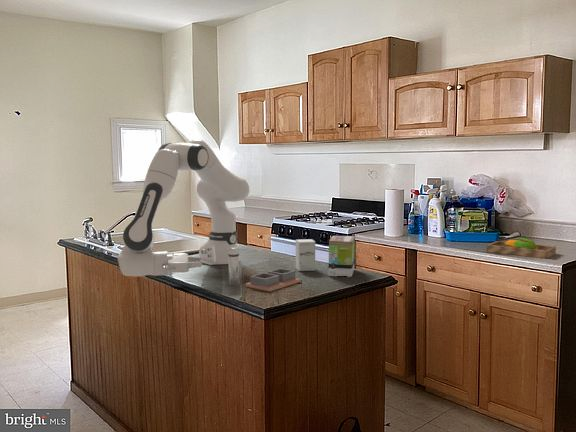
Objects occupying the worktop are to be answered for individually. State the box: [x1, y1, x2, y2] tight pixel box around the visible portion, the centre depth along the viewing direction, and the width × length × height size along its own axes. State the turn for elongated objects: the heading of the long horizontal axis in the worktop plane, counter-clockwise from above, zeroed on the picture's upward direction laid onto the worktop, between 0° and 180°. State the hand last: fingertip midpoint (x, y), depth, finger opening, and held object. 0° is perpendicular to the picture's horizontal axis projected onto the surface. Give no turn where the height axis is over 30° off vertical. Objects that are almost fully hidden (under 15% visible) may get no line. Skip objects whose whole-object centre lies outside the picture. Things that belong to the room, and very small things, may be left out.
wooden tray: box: [486, 240, 557, 259], centre depth 263 cm, size 28×15×4 cm, turn 51°
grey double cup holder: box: [245, 267, 301, 292], centre depth 205 cm, size 12×18×4 cm, turn 141°
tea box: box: [327, 235, 356, 278], centre depth 223 cm, size 15×10×15 cm, turn 170°
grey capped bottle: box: [228, 246, 241, 287], centre depth 205 cm, size 4×4×14 cm
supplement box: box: [295, 238, 316, 272], centre depth 230 cm, size 7×7×13 cm
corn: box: [504, 237, 537, 250], centre depth 264 cm, size 7×8×20 cm
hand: (200, 261), depth 202 cm, fingers open, 8 cm apart
